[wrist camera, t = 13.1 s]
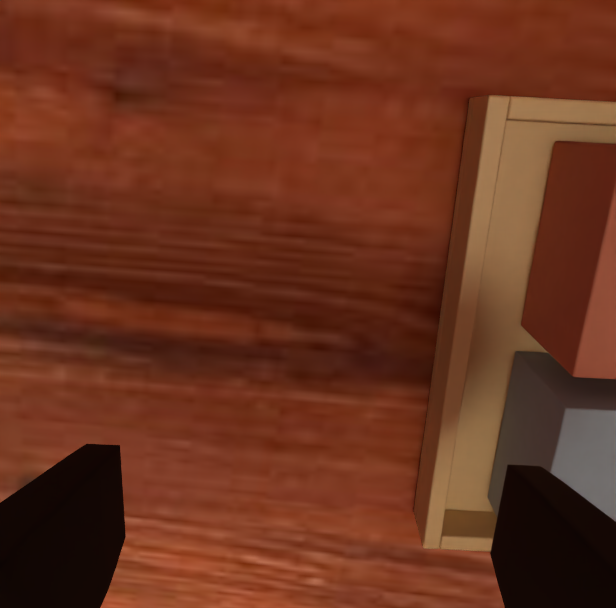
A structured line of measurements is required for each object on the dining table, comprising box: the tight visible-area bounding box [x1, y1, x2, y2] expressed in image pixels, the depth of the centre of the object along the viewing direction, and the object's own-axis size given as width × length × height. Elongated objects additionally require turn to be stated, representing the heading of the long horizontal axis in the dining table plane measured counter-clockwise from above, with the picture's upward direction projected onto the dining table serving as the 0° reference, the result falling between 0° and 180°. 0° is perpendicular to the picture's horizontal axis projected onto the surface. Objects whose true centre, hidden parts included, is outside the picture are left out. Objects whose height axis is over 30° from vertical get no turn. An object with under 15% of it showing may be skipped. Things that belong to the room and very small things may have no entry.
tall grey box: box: [488, 351, 616, 522], centre depth 18 cm, size 4×6×4 cm, turn 177°
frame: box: [414, 95, 616, 552], centre depth 18 cm, size 9×15×2 cm, turn 177°
